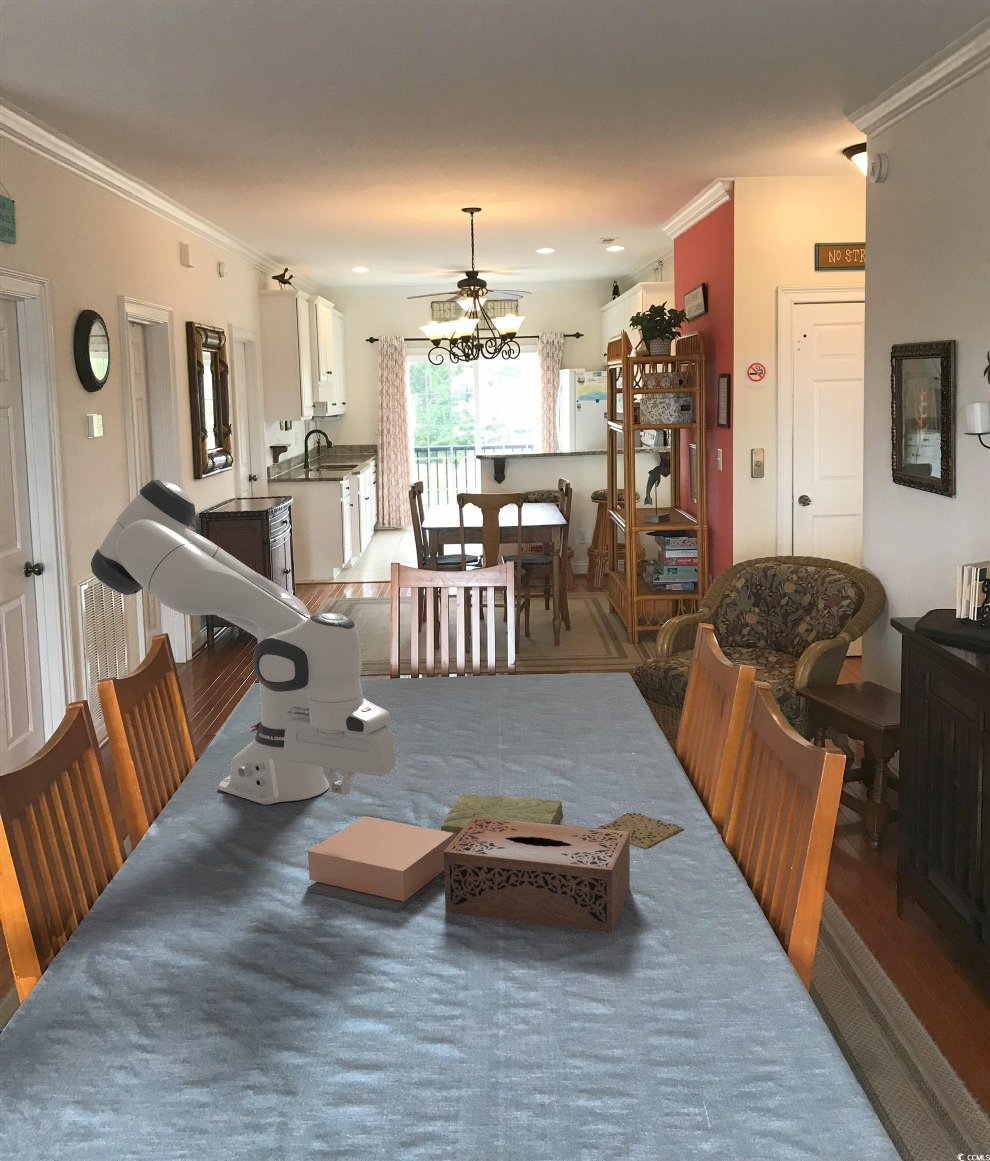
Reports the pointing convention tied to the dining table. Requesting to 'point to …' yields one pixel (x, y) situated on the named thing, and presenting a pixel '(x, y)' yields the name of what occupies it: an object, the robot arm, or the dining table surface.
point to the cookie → (643, 829)
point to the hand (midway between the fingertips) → (340, 792)
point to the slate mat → (367, 895)
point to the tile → (380, 858)
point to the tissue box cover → (538, 873)
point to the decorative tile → (501, 810)
